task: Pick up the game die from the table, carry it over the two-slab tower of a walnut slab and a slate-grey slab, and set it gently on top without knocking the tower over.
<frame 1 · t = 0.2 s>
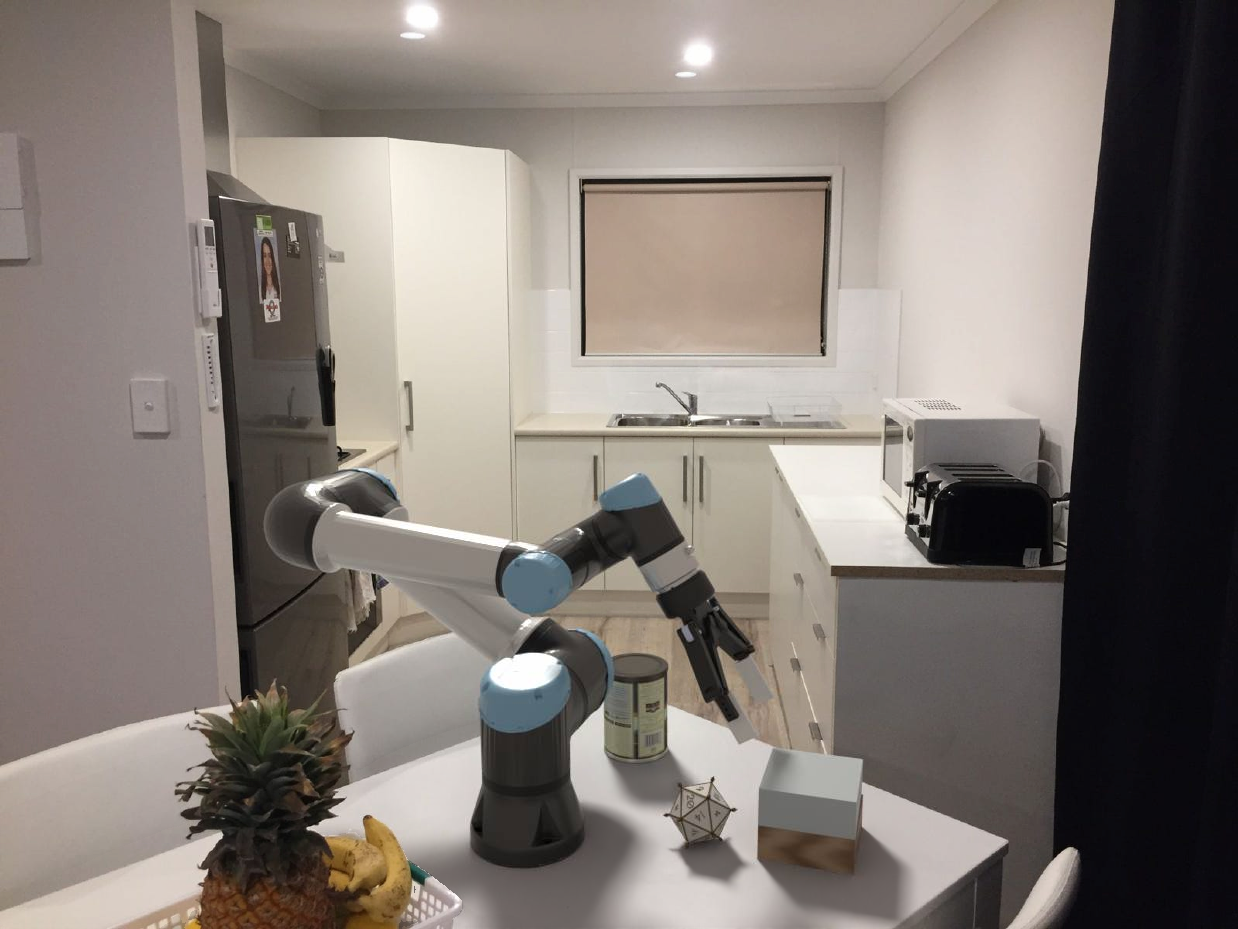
hand: (757, 719, 133), 15 cm above the table, tool tilted 30°, fingers open, 13 cm apart
tower top: (811, 809, 130), point 5 cm above the table, touching tower base
tower base: (810, 844, 131), on the table, touching tower top
game die: (699, 842, 132), on the table
coffee can: (635, 750, 158), on the table
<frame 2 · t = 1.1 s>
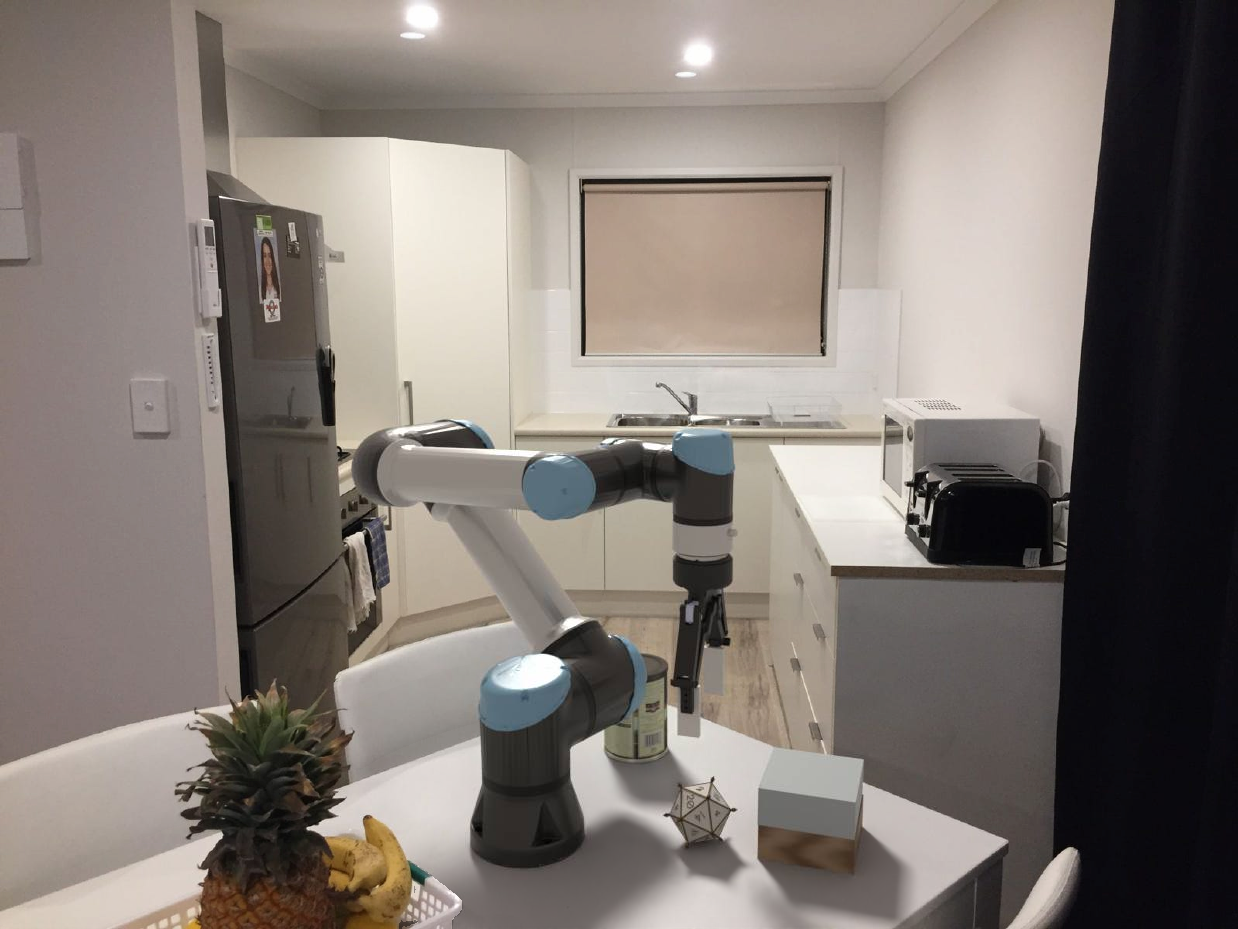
hand: (701, 713, 128), 18 cm above the table, tool pointing down, fingers open, 13 cm apart
nothing on the table moved.
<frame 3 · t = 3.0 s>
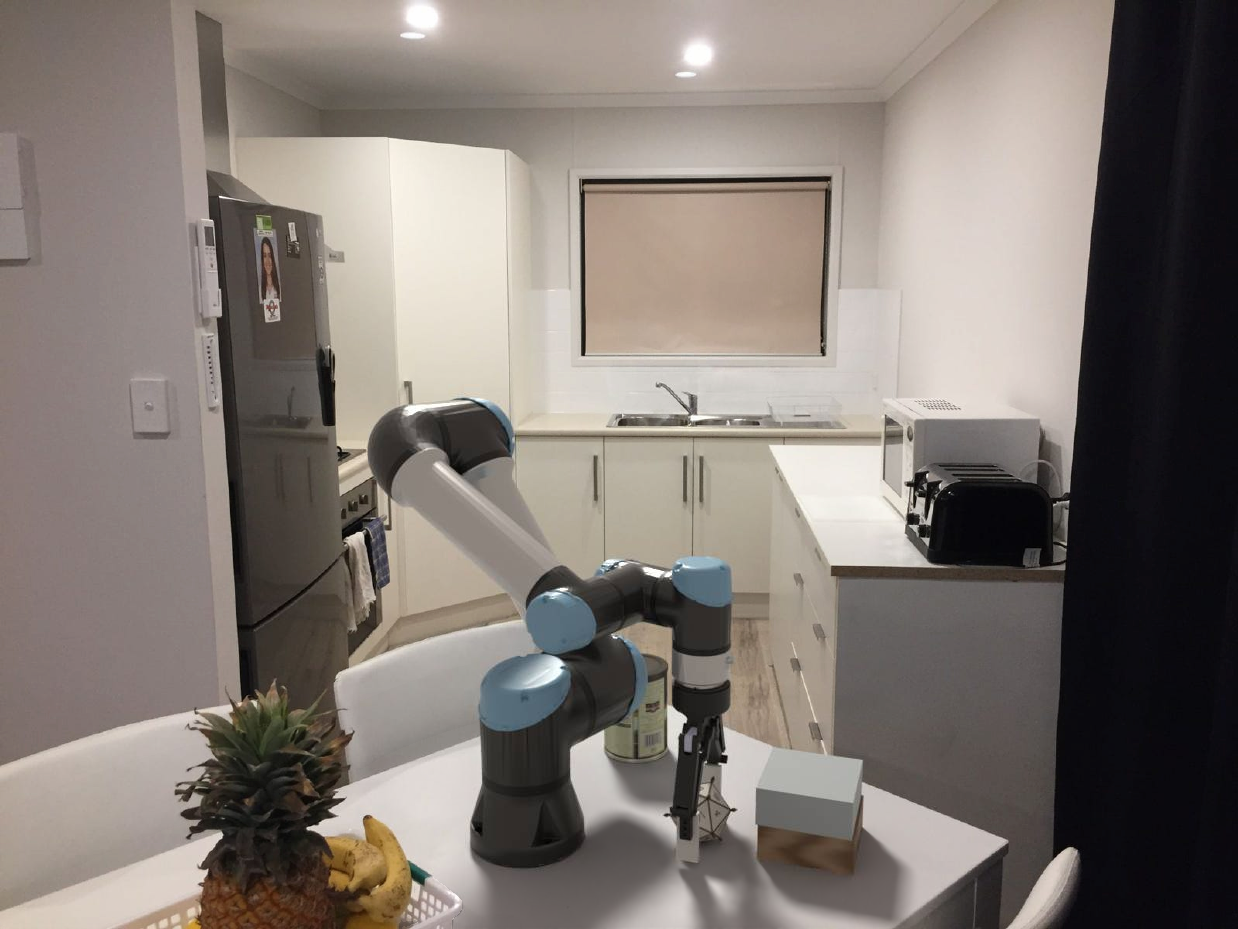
hand: (699, 833, 131), 1 cm above the table, tool pointing down, fingers open, 12 cm apart
nothing on the table moved.
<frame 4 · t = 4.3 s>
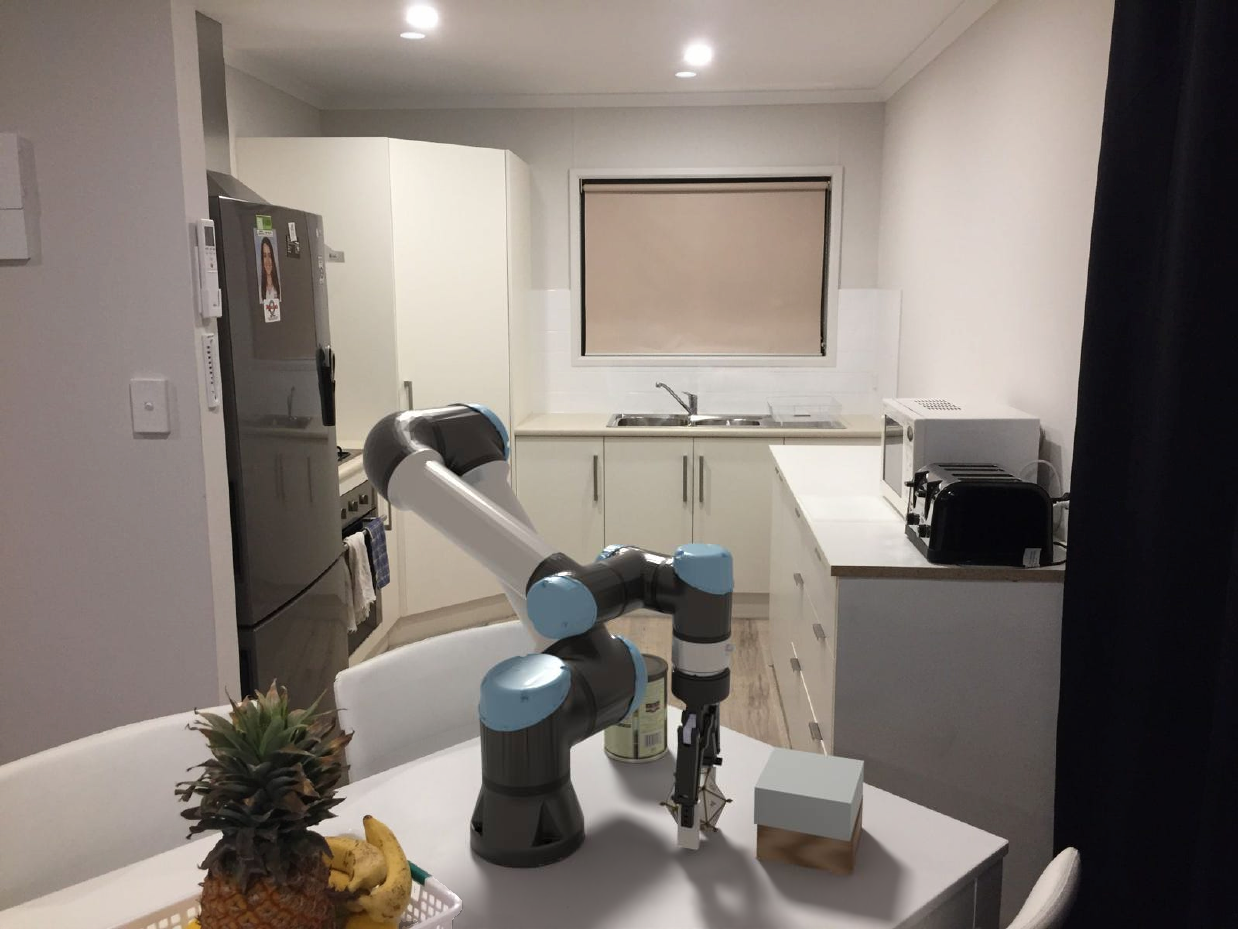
hand: (696, 828, 132), 2 cm above the table, tool pointing down, fingers closed on game die, 8 cm apart
game die: (694, 831, 132), point 1 cm above the table, touching gripper
everything else where it was.
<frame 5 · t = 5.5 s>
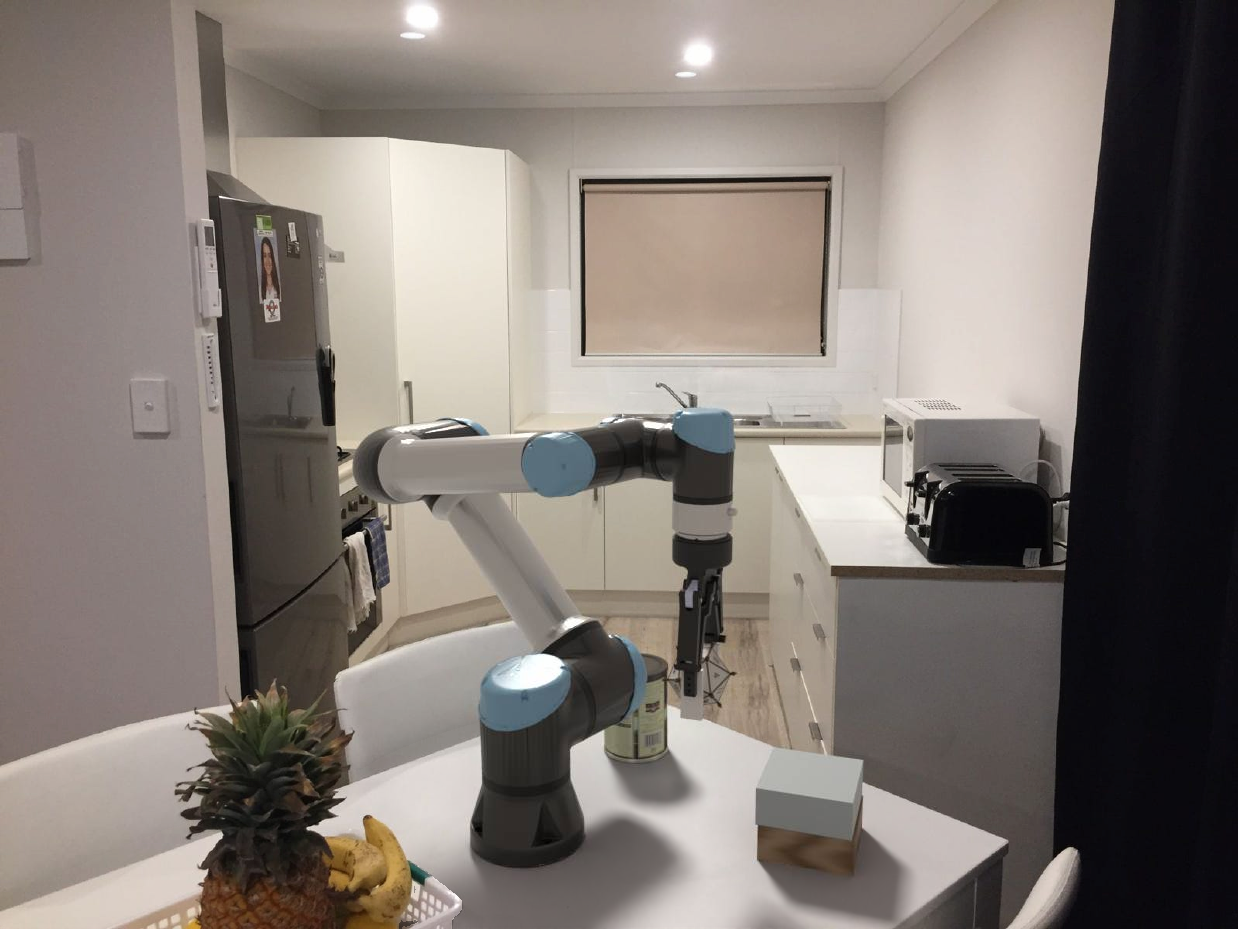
hand: (700, 704, 128), 19 cm above the table, tool pointing down, fingers closed on game die, 8 cm apart
game die: (698, 707, 129), point 18 cm above the table, touching gripper
everything else where it was.
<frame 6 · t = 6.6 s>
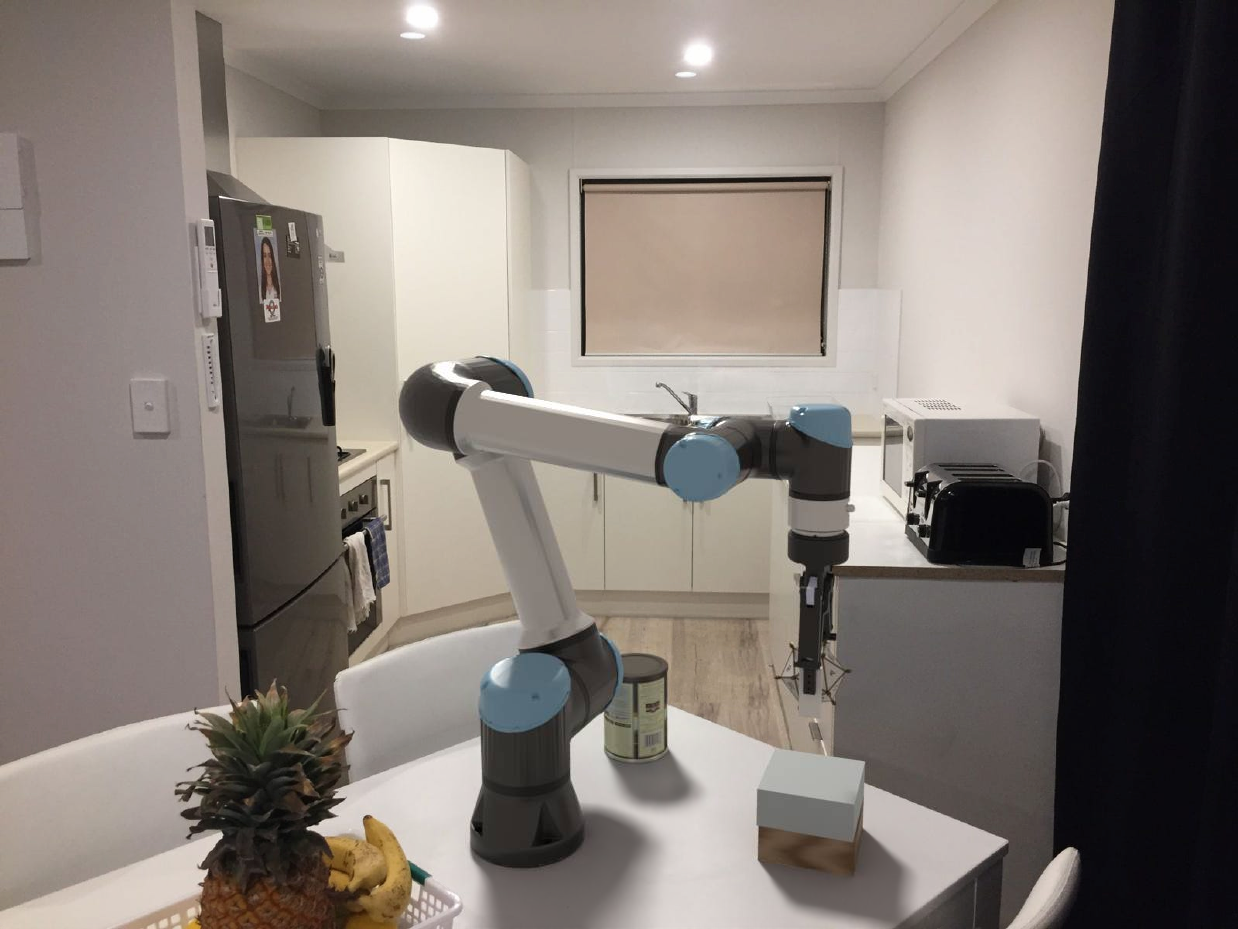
hand: (814, 702, 128), 19 cm above the table, tool pointing down, fingers closed on game die, 8 cm apart
game die: (811, 705, 128), point 19 cm above the table, touching gripper
everything else where it was.
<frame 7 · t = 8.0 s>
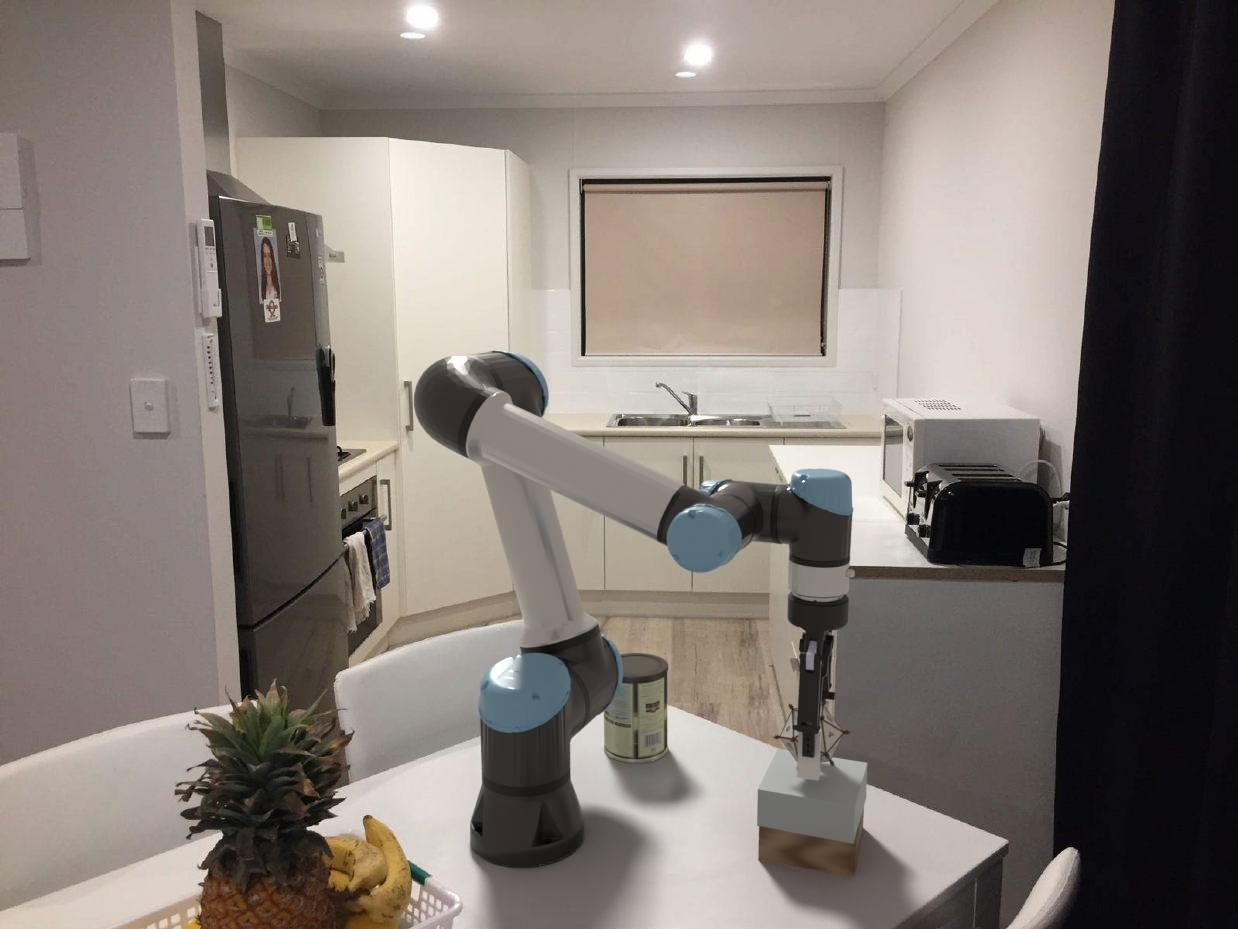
hand: (812, 762, 129), 11 cm above the table, tool pointing down, fingers closed on game die, 8 cm apart
game die: (810, 765, 129), point 11 cm above the table, touching gripper
everything else where it was.
when the fingers open (11 cm above the table, at t = 8.2 s): game die drops 1 cm, resting on tower top.
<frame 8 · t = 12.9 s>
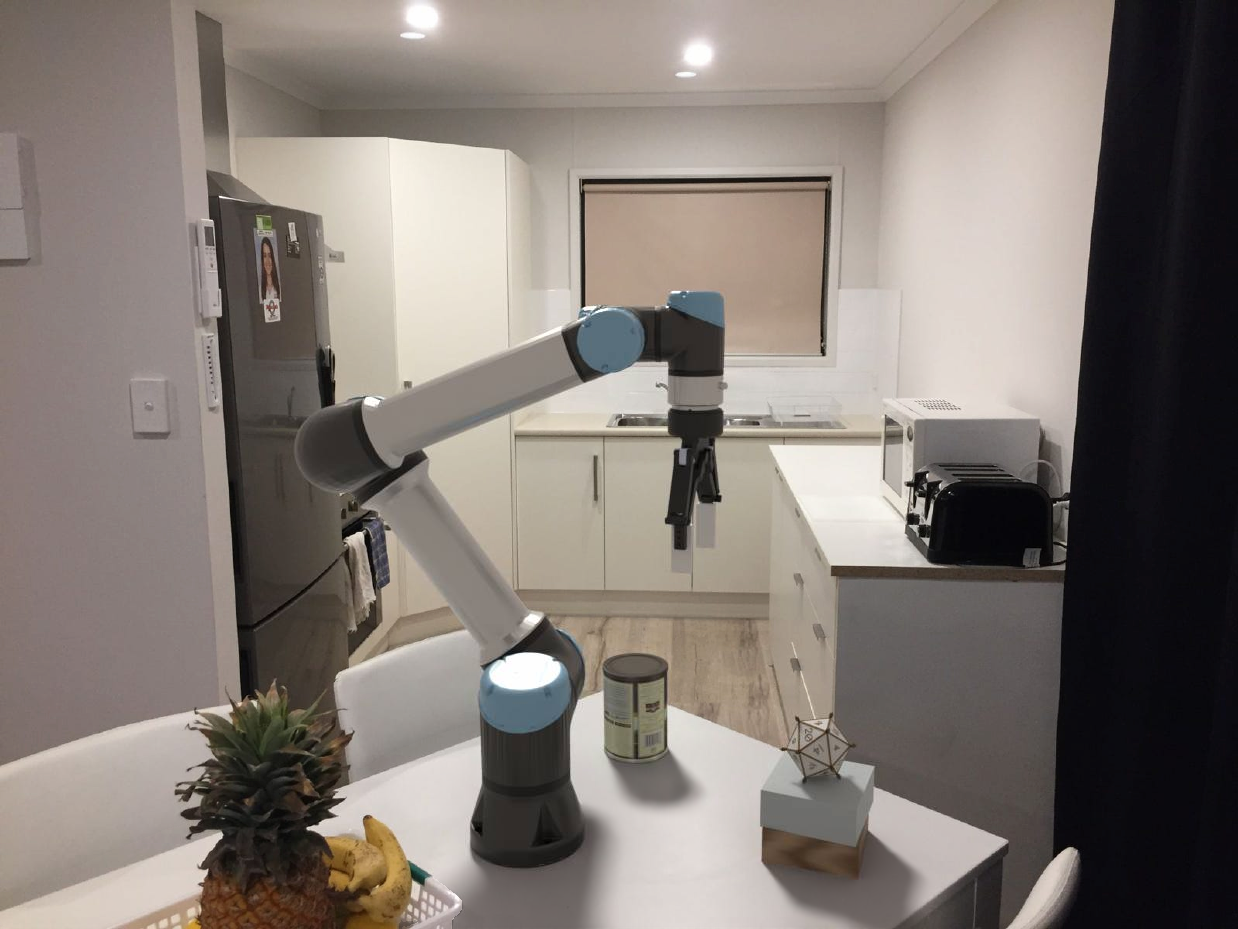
hand: (694, 559, 138), 35 cm above the table, tool pointing down, fingers open, 13 cm apart
tower top: (817, 813, 129), point 4 cm above the table, touching game die, tower base
game die: (816, 778, 129), point 9 cm above the table, touching tower top
everything else where it was.
at the end: game die inside the target area on the tower base (0.3 cm from its centre), point 9.8 cm above the tower base's base; tower top 0.1 cm off-centre on the tower base, point 5.0 cm above the tower base's base; game die tilted 0° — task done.
